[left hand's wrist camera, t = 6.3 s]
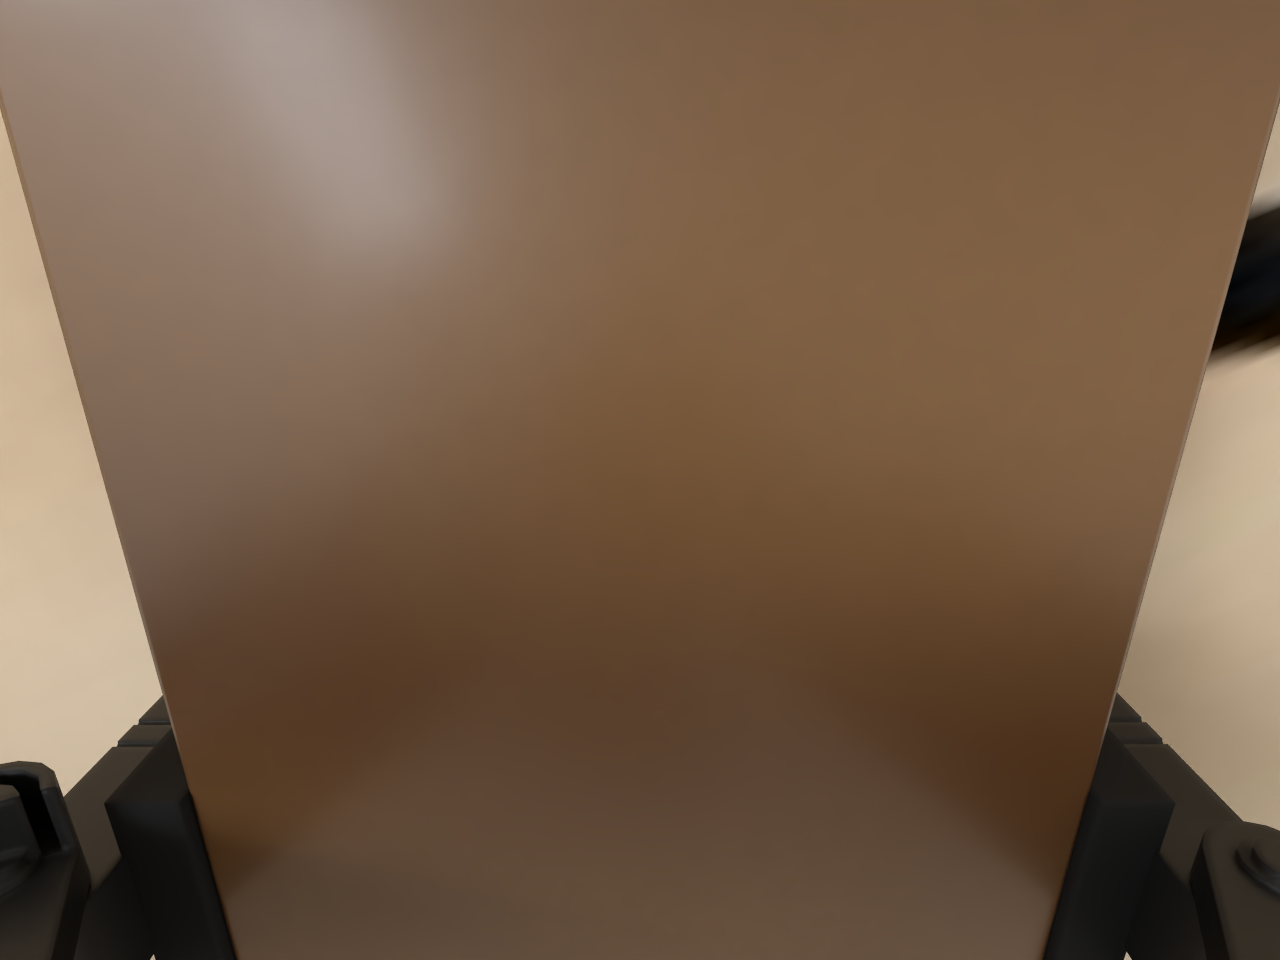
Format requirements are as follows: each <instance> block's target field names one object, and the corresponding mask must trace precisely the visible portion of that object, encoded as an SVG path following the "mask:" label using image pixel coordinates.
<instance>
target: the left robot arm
mask: <svg viewBox="0 0 1280 960" xmlns="http://www.w3.org/2000/svg"><path fill="white" fill-rule="evenodd" d="M1126 951H1127V953H1128V954H1129V956H1130V957H1131V959H1132V960H1280V831H1279V830H1276V829H1274V828H1271V827H1269V826H1266V825H1260V824H1255V823H1250V822H1244V821H1242V820H1241V819H1240V818H1239V817H1238V816H1237V815H1236V813H1235V812H1234V811H1233V810H1232V809H1231V808H1230V807H1229V806H1228V805H1227V804H1226V803H1225V802H1224V801H1223V800H1222V799H1221V798H1220V797H1219V796H1218V795H1217V794H1216V793H1215V792H1214V791H1213V790H1212V789H1211V788H1210V787H1209V786H1208V785H1207V784H1206V783H1205V782H1204V781H1203V780H1202V779H1201V778H1200V777H1199V776H1198V775H1197V774H1196V773H1195V772H1194V771H1193V770H1192V769H1191V768H1190V767H1189V766H1188V765H1187V764H1186V763H1185V761H1184V760H1183V759H1182V758H1181V757H1180V756H1179V755H1178V754H1177V753H1176V752H1175V751H1174V750H1173V749H1172V748H1171V747H1170V746H1169V745H1168V744H1163V742H1162V738H1161V737H1160V736H1159V735H1158V734H1157V733H1156V732H1155V731H1154V730H1153V729H1152V728H1151V727H1150V726H1149V725H1148V724H1147V723H1146V722H1142V721H1141V717H1140V716H1139V715H1138V714H1137V713H1136V712H1135V711H1134V709H1133V708H1132V707H1131V706H1130V705H1129V704H1128V703H1127V702H1126V701H1125V700H1124V699H1123V698H1122V697H1121V696H1120V695H1119V694H1118V693H1116V696H1115V700H1114V704H1113V707H1112V711H1111V715H1110V718H1109V722H1108V725H1107V729H1106V733H1105V736H1104V740H1103V744H1102V747H1101V751H1100V754H1099V758H1098V762H1097V765H1096V769H1095V773H1094V776H1093V780H1092V783H1091V787H1090V791H1089V794H1088V798H1087V802H1086V805H1085V809H1084V812H1083V816H1082V820H1081V823H1080V827H1079V831H1078V834H1077V838H1076V841H1075V845H1074V849H1073V852H1072V856H1071V860H1070V863H1069V867H1068V870H1067V874H1066V878H1065V881H1064V885H1063V888H1062V892H1061V896H1060V899H1059V903H1058V907H1057V910H1056V914H1055V917H1054V921H1053V925H1052V928H1051V932H1050V936H1049V939H1048V943H1047V946H1046V950H1045V954H1044V957H1043V960H1124V957H1125V954H1126ZM153 954H154V956H155V959H156V960H236V956H235V953H234V949H233V946H232V942H231V938H230V935H229V931H228V928H227V924H226V920H225V917H224V913H223V910H222V906H221V902H220V899H219V895H218V892H217V888H216V884H215V881H214V877H213V873H212V870H211V866H210V863H209V859H208V855H207V852H206V848H205V845H204V841H203V837H202V834H201V830H200V827H199V823H198V819H197V816H196V812H195V809H194V805H193V801H192V798H191V794H190V790H189V787H188V783H187V780H186V776H185V772H184V769H183V765H182V762H181V758H180V754H179V751H178V747H177V744H176V740H175V736H174V733H173V729H172V726H171V722H170V718H169V715H168V711H167V708H166V704H165V700H164V697H163V696H162V697H161V698H160V699H159V700H158V701H157V702H156V703H155V704H154V705H153V706H152V707H151V708H150V709H149V710H148V711H147V712H146V713H145V714H144V715H143V716H142V717H141V718H140V719H139V724H138V725H133V726H132V727H131V729H130V730H129V731H128V732H127V733H126V734H125V735H124V736H123V737H122V738H121V739H120V740H119V741H118V745H117V747H112V748H111V749H110V750H109V751H108V752H107V753H106V754H105V755H104V756H103V757H102V758H101V759H100V760H99V761H98V762H97V763H96V764H95V765H94V766H93V768H92V769H91V770H90V771H89V772H88V773H87V774H86V775H85V776H84V777H83V778H82V779H81V780H80V781H79V782H78V783H77V784H76V785H75V786H74V787H73V788H72V789H71V790H70V791H69V792H68V793H67V794H66V795H65V796H64V797H63V795H62V792H61V789H60V786H59V783H58V781H57V778H56V775H55V772H54V771H53V770H51V769H50V768H48V767H47V766H45V765H44V764H42V763H37V762H25V761H16V762H11V763H5V764H0V960H150V959H151V957H152V956H153Z"/></svg>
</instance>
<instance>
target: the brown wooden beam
mask: <svg viewBox="0 0 1280 960" xmlns="http://www.w3.org/2000/svg"><path fill="white" fill-rule="evenodd" d="M1279 102H1280V0H0V109H1V112H2V116H3V120H4V123H5V127H6V130H7V134H8V138H9V141H10V145H11V148H12V152H13V156H14V159H15V163H16V166H17V170H18V174H19V177H20V181H21V184H22V188H23V192H24V195H25V199H26V202H27V206H28V210H29V213H30V217H31V221H32V224H33V228H34V231H35V235H36V239H37V242H38V246H39V249H40V253H41V257H42V260H43V264H44V267H45V271H46V275H47V278H48V282H49V285H50V289H51V293H52V296H53V300H54V303H55V307H56V311H57V314H58V318H59V322H60V325H61V329H62V332H63V336H64V340H65V343H66V347H67V350H68V354H69V358H70V361H71V365H72V368H73V372H74V376H75V379H76V383H77V386H78V390H79V394H80V397H81V401H82V405H83V408H84V412H85V415H86V419H87V423H88V426H89V430H90V433H91V437H92V441H93V444H94V448H95V451H96V455H97V459H98V462H99V466H100V469H101V473H102V477H103V480H104V484H105V487H106V491H107V495H108V498H109V502H110V506H111V509H112V513H113V516H114V520H115V524H116V527H117V531H118V534H119V538H120V542H121V545H122V549H123V552H124V556H125V560H126V563H127V567H128V570H129V574H130V578H131V581H132V585H133V588H134V592H135V596H136V599H137V603H138V607H139V610H140V614H141V617H142V621H143V625H144V628H145V632H146V635H147V639H148V643H149V646H150V650H151V653H152V657H153V661H154V664H155V668H156V671H157V675H158V679H159V682H160V686H161V689H162V693H163V697H164V700H165V704H166V708H167V711H168V715H169V718H170V722H171V726H172V729H173V733H174V736H175V740H176V744H177V747H178V751H179V754H180V758H181V762H182V765H183V769H184V772H185V776H186V780H187V783H188V787H189V790H190V794H191V798H192V801H193V805H194V809H195V812H196V816H197V819H198V823H199V827H200V830H201V834H202V837H203V841H204V845H205V848H206V852H207V855H208V859H209V863H210V866H211V870H212V873H213V877H214V881H215V884H216V888H217V892H218V895H219V899H220V902H221V906H222V910H223V913H224V917H225V920H226V924H227V928H228V931H229V935H230V938H231V942H232V946H233V949H234V953H235V956H236V960H1043V957H1044V954H1045V950H1046V946H1047V943H1048V939H1049V936H1050V932H1051V928H1052V925H1053V921H1054V917H1055V914H1056V910H1057V907H1058V903H1059V899H1060V896H1061V892H1062V888H1063V885H1064V881H1065V878H1066V874H1067V870H1068V867H1069V863H1070V860H1071V856H1072V852H1073V849H1074V845H1075V841H1076V838H1077V834H1078V831H1079V827H1080V823H1081V820H1082V816H1083V812H1084V809H1085V805H1086V802H1087V798H1088V794H1089V791H1090V787H1091V783H1092V780H1093V776H1094V773H1095V769H1096V765H1097V762H1098V758H1099V754H1100V751H1101V747H1102V744H1103V740H1104V736H1105V733H1106V729H1107V725H1108V722H1109V718H1110V715H1111V711H1112V707H1113V704H1114V700H1115V696H1116V693H1117V689H1118V686H1119V682H1120V678H1121V675H1122V671H1123V667H1124V664H1125V660H1126V657H1127V653H1128V649H1129V646H1130V642H1131V639H1132V635H1133V631H1134V628H1135V624H1136V620H1137V617H1138V613H1139V610H1140V606H1141V602H1142V599H1143V595H1144V591H1145V588H1146V584H1147V581H1148V577H1149V573H1150V570H1151V566H1152V562H1153V559H1154V555H1155V552H1156V548H1157V544H1158V541H1159V537H1160V533H1161V530H1162V526H1163V523H1164V519H1165V515H1166V512H1167V508H1168V504H1169V501H1170V497H1171V494H1172V490H1173V486H1174V483H1175V479H1176V476H1177V472H1178V468H1179V465H1180V461H1181V457H1182V454H1183V450H1184V447H1185V443H1186V439H1187V436H1188V432H1189V428H1190V425H1191V421H1192V418H1193V414H1194V410H1195V407H1196V403H1197V399H1198V396H1199V392H1200V389H1201V385H1202V381H1203V378H1204V374H1205V370H1206V367H1207V363H1208V360H1209V356H1210V352H1211V349H1212V345H1213V341H1214V338H1215V334H1216V331H1217V327H1218V323H1219V320H1220V316H1221V312H1222V309H1223V305H1224V302H1225V298H1226V294H1227V291H1228V287H1229V284H1230V280H1231V276H1232V273H1233V269H1234V265H1235V262H1236V258H1237V255H1238V251H1239V247H1240V244H1241V240H1242V236H1243V233H1244V229H1245V226H1246V222H1247V218H1248V215H1249V211H1250V207H1251V204H1252V200H1253V197H1254V193H1255V189H1256V186H1257V182H1258V178H1259V175H1260V171H1261V168H1262V164H1263V160H1264V157H1265V153H1266V149H1267V146H1268V142H1269V139H1270V135H1271V131H1272V128H1273V124H1274V120H1275V117H1276V113H1277V110H1278V106H1279Z"/></svg>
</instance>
